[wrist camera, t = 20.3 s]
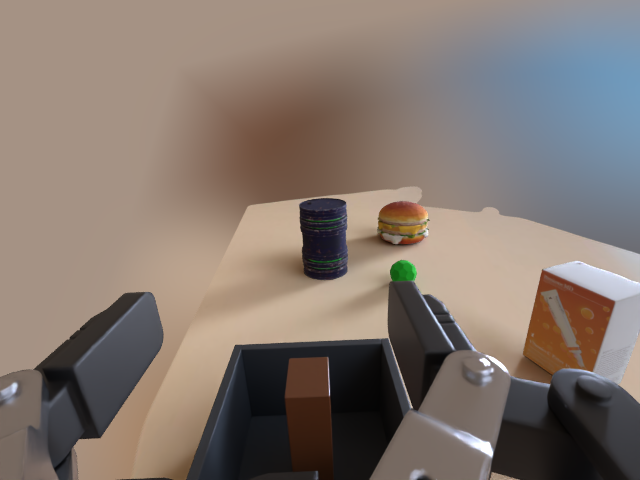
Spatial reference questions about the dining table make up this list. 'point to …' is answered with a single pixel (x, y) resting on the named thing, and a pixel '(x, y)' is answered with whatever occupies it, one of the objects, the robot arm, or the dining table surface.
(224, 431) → the waste bin
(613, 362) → the small box
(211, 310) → the dining table surface
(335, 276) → the navy striped cylinder
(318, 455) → the chocolate carton
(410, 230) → the burger
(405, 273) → the polyhedron
